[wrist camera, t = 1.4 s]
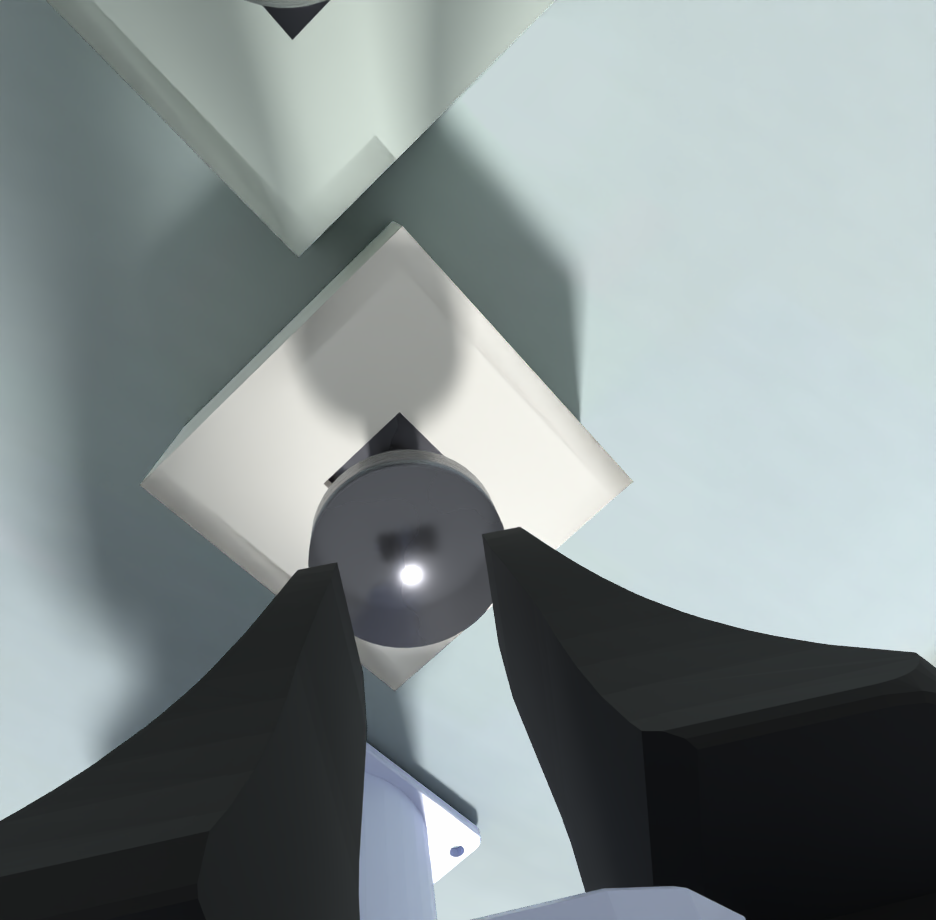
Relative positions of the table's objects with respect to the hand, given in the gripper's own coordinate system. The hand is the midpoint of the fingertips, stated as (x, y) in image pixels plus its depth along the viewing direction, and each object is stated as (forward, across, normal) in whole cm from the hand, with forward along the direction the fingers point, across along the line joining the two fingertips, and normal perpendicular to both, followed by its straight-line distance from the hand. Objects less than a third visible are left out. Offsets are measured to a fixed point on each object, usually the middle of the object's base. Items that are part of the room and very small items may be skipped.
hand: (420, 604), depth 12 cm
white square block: (+10, 0, 0) cm, 10 cm away
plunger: (+7, 0, 0) cm, 7 cm away
